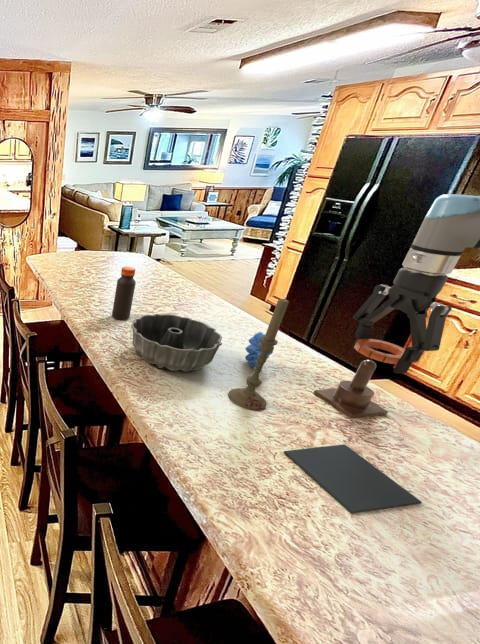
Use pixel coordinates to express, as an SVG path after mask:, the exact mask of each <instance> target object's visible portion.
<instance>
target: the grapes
mask: <svg viewBox="0 0 480 644" xmlns="http://www.w3.org/2000/svg"><path fill="white" fill-rule="evenodd" d="M265 335H266V333H263V332H260V331H259V332H256V333H255V334H254V335H252V337H250V338H249V339H248V342H249V345H247V346H246V347H245V351H246V352H247V353H248V354H247V355H245V356H244V359H245V360H246V361H247V365H248V366H249V367H250V368H252V369H254V368H255V366H256V363H257V357H259V354H260V353H261V350H260V349H259V347H258V346H259V344H261V341H260V338H261V337H264V336H265ZM273 353H274V350H273V351H272V352H270V353H267V360H268V359H269V358H270V356H271V355H272V354H273ZM265 363H266V362H265ZM265 363H264V365H265Z"/></svg>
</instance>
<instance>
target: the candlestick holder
mask: <svg viewBox="0 0 480 644" xmlns="http://www.w3.org/2000/svg"><path fill="white" fill-rule="evenodd" d="M289 303H290V301H289V300H288V299H286V297H284V298H278V299H277V301H276V305H275V308H274V310H273V313H272V316H271V319H270V321H269V324H268V327H267V329H266V332H265V334H266V335H265V336H264V337H261V338H260V341H261V344H259V346H258V347H259V349H260V350H261V353H260V354H259V357H257V363H256V366H255V368H253V373H252V374H251V375H249V376H247V377H246V378H245V384H246V387H240V388H238V387H237V388H231V389H230V390H229V391H228V393H227V396H228V399H229V400H230V401H232V402H233V403H234V404H235V405H237V406H239V407H241V408H244V409H246V410H252V411H262V410H264V409H265V408H266V407H267V405H268V403H267V400H266V399H265V398H264V397H263V396H262V395H261V394H260V393H258V392H257V391H256V389H257V388H259V387H260V386H261V385H262V382H263V381H262V380H261V378H260V374H261V372H262V371H263V370H262V369H263V368H264V365H265V364H264V363H266V362H267V360H268V359H267V353H270V352H272V351H273V352H274V351H275V347H274V346H277V345H278V343H279V341H278V340H277V339H276V337H277V334H278V332H279V329H280V326H281V325H282V321H283V319H284V316H285V314H286V311H287V309H288V305H289Z"/></svg>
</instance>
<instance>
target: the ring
mask: <svg viewBox="0 0 480 644" xmlns="http://www.w3.org/2000/svg"><path fill="white" fill-rule="evenodd" d="M354 348H355V349H356V350H357V351H356V352H358V353H359V354H361V355H363V356H365V357H366V358H369V359H370V360H374V361H378V362H381V363H386V364H390V365H391V364H392V365H397V364H398V362H399V360H400V358H401V356H402V355H403V353H404V351H405V349H406V348H404V347H402V346H400V345H398V344H395V343H391V342H389V341H385V340H381V339H374V338H369V339H359V340H358V341H357V342H356V344H355V346H354ZM375 349H380V350H382V351H386V352H389V353H385V352H381V351H378V350H375Z"/></svg>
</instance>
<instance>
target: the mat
mask: <svg viewBox="0 0 480 644" xmlns="http://www.w3.org/2000/svg"><path fill="white" fill-rule="evenodd" d="M283 454H284V455H286V456H287V457H288V458H289V459H290V460H291V461H292V462H294V463H295V464H296V465H297V467H299V468H300V469H301V470H302V471H303V472H304V473H306V474H307V476H308V477H310V478H311V479H312V480H313V481H314V482H316V483H317V484H318V485H319V486H320V487H321V488H322V489H323V490H324V491H326V492H327V493H328V494H329V495H330V496H331V497H332V498H334V500H336V501H337V502H338V503H339V504H340V505H341V506H342V507H344V508H345V510H347V511H348V512H349V513H350V514H357V513H363V512H365V513H366V512H370V511H378V510H385V509H391V508H399V507H405V506H413V505H420V504H422V500H420V499H419V498H418V497H416V496H415V495H413V494H412V493H411V492H410V491H408V490H406V488H404V487H403V486H402V485H400V484H399V483H398V482H396V481H394V479H392V478H391V477H389V476H388V474H387V475H386V473H384V472H383V471H381V470H380V469H379V468H377V467H376V466H374V465H373V464H372V463H370V462H369V461H368V460H367V459H365V458H364V457H362V456H361V455H359V454H358V453H357V452H356V451H354V449H352V448H351V447H349V446H348V445H346V444H334V445H327V446H325V445H324V446H319V447H307V448H300V449H291V450H290V449H289V450H284V451H283Z"/></svg>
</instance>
